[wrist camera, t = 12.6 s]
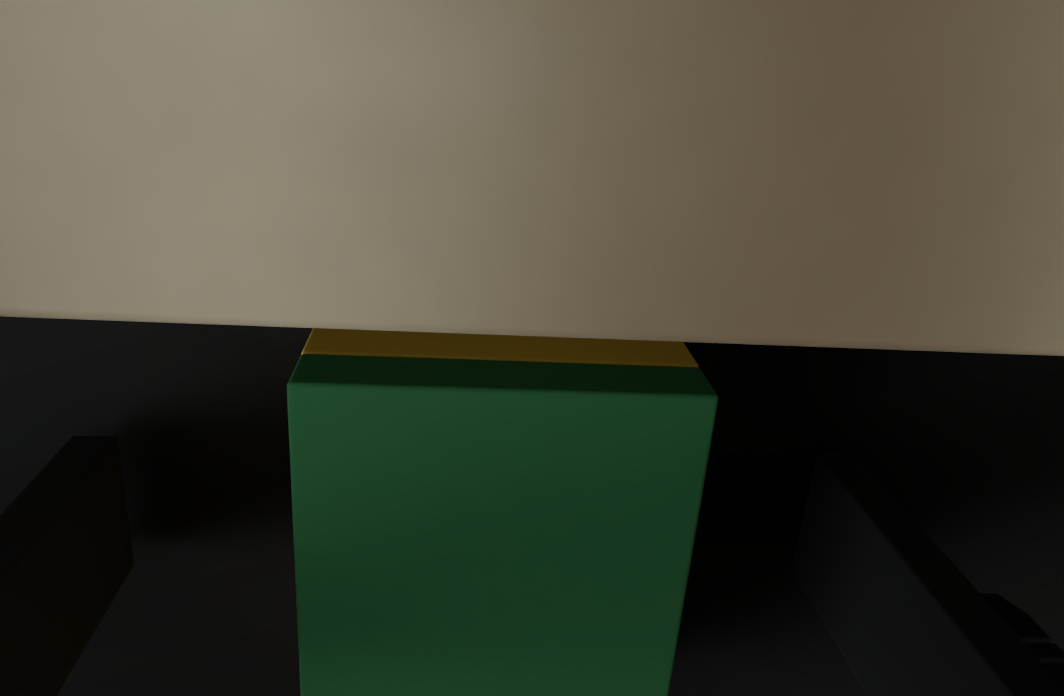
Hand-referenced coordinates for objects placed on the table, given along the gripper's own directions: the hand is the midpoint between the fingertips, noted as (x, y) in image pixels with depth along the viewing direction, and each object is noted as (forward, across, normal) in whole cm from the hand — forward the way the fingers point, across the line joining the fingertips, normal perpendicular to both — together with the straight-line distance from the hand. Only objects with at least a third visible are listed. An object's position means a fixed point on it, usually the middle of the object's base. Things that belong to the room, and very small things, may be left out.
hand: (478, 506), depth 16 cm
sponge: (0, 0, 0) cm, 0 cm away
